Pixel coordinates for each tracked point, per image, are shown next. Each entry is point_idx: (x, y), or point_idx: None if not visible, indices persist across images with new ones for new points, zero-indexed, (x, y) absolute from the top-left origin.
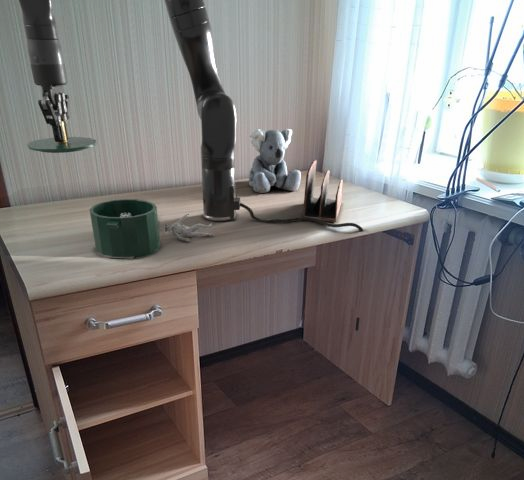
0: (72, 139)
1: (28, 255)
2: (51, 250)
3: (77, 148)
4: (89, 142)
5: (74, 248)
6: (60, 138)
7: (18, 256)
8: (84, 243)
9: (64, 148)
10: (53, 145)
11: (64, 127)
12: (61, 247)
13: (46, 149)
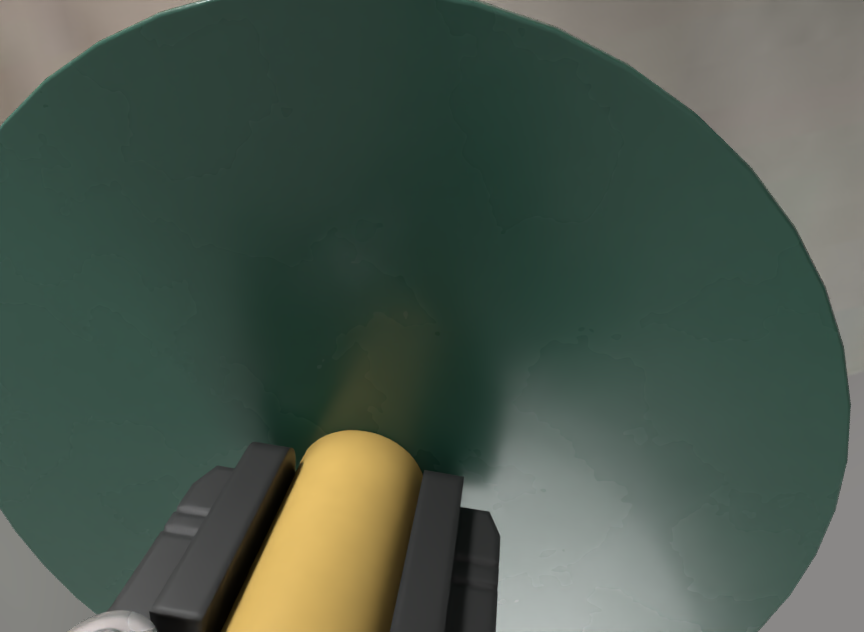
0: (130, 402)
1: (858, 322)
2: (813, 234)
3: (784, 220)
4: (328, 110)
5: (813, 120)
6: (489, 529)
7: (858, 359)
8: (737, 81)
9: (821, 396)
10: (556, 543)
11: (292, 592)
12: (777, 195)
13: (796, 578)
